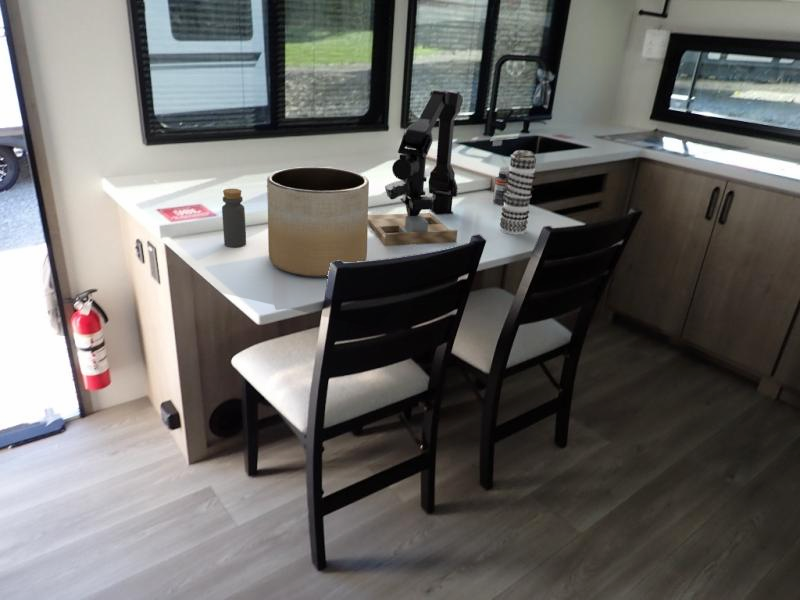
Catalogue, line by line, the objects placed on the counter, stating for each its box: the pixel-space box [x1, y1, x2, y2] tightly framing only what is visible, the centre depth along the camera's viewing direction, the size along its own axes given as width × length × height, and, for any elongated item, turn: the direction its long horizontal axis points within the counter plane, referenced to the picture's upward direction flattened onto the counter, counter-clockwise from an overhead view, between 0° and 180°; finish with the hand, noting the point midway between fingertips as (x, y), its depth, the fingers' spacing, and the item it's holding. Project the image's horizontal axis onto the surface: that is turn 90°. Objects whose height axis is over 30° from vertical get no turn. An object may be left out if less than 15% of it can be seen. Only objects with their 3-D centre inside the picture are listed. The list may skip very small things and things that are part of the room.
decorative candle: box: [499, 149, 538, 235], centre depth 183 cm, size 9×9×25 cm
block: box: [405, 216, 428, 232], centre depth 174 cm, size 5×6×4 cm
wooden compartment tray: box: [368, 212, 458, 247], centre depth 180 cm, size 22×23×4 cm
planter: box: [266, 166, 370, 278], centre depth 150 cm, size 25×25×22 cm
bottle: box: [221, 188, 247, 248], centre depth 159 cm, size 6×6×15 cm
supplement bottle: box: [492, 170, 509, 205], centre depth 215 cm, size 6×6×11 cm
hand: (411, 223), depth 178 cm, fingers closed
